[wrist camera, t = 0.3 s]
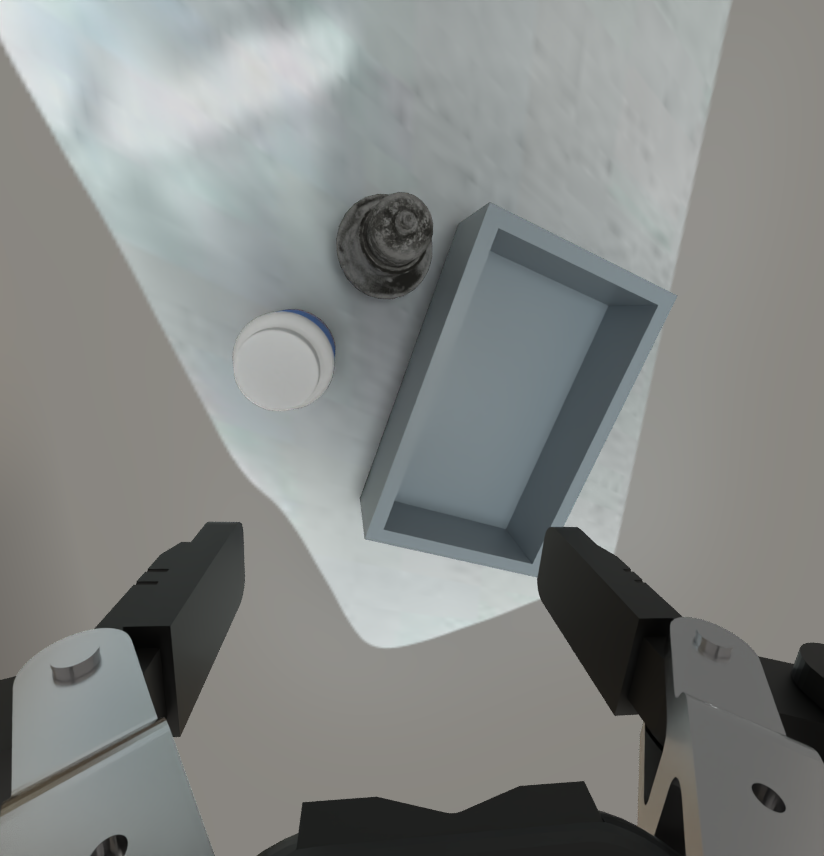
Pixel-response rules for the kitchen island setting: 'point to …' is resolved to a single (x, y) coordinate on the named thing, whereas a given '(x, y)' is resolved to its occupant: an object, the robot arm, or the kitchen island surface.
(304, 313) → the pill bottle
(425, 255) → the grey stone chess piece
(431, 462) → the tote
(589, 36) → the kitchen island surface
